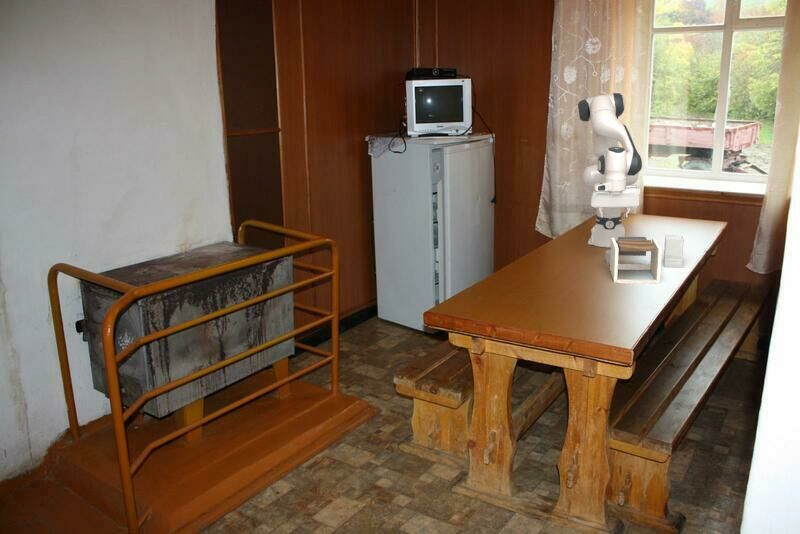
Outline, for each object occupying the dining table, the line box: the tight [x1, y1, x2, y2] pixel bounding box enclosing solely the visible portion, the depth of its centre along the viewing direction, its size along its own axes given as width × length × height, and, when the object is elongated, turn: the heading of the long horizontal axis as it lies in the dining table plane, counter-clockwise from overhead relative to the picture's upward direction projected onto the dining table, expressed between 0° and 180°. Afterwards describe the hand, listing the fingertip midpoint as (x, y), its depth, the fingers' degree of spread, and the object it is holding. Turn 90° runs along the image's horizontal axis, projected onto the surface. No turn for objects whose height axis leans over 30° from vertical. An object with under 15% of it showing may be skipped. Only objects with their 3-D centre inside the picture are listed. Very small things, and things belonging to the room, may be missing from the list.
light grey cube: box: [605, 249, 620, 265], centre depth 308 cm, size 5×5×5 cm
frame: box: [609, 237, 663, 285], centre depth 286 cm, size 20×18×14 cm
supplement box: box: [663, 234, 685, 268], centre depth 299 cm, size 7×7×13 cm
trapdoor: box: [616, 236, 655, 257], centre depth 288 cm, size 20×14×7 cm
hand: (614, 217), depth 303 cm, fingers open, 8 cm apart
